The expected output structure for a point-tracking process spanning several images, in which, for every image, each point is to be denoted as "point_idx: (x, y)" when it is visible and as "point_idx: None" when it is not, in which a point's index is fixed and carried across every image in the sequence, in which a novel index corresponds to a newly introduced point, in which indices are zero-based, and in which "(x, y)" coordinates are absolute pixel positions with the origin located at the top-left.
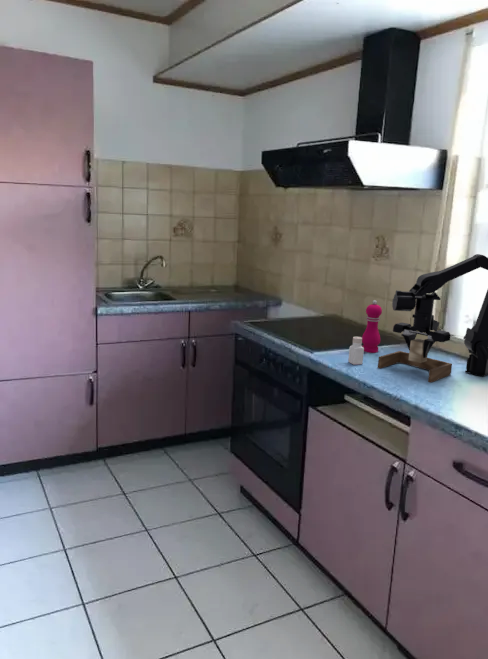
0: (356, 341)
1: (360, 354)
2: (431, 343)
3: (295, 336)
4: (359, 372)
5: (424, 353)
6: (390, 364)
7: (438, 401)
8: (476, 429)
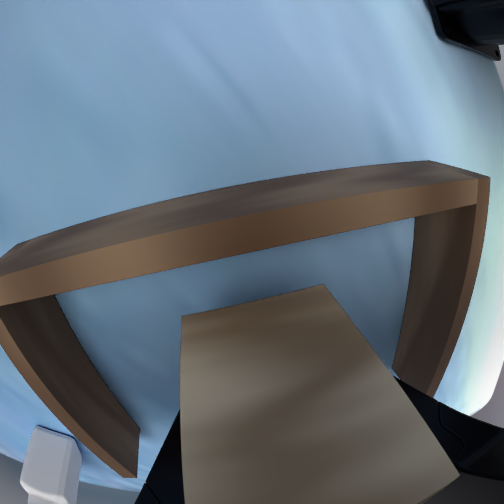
0: None
1: (72, 480)
2: (481, 454)
3: None
4: None
5: None
6: (90, 366)
7: None
8: (485, 403)
